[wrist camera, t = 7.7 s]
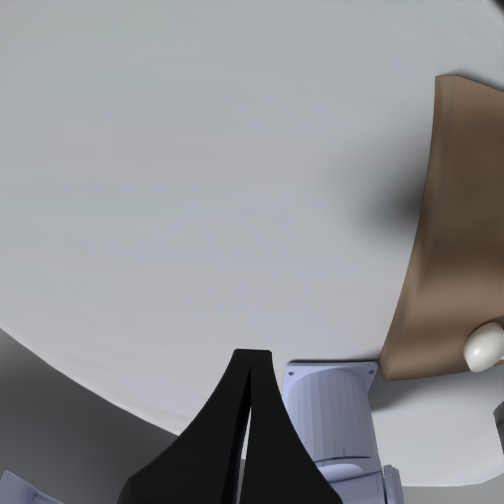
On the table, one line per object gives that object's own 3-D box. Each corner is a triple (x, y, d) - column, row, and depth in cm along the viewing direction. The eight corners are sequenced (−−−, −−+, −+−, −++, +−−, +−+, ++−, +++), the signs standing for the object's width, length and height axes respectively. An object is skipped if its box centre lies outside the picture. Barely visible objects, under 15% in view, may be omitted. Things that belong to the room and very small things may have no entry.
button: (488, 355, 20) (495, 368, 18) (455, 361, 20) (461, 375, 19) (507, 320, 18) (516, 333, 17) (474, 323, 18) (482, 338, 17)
